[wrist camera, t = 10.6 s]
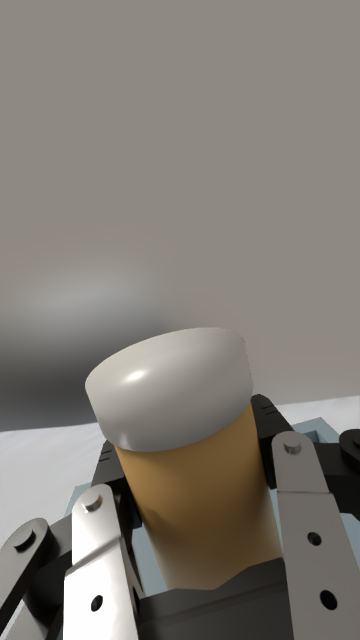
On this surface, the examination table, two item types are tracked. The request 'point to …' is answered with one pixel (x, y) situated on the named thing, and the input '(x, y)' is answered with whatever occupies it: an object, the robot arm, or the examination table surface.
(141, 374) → the pill bottle
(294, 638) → the robot arm
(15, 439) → the examination table surface
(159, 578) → the tray
